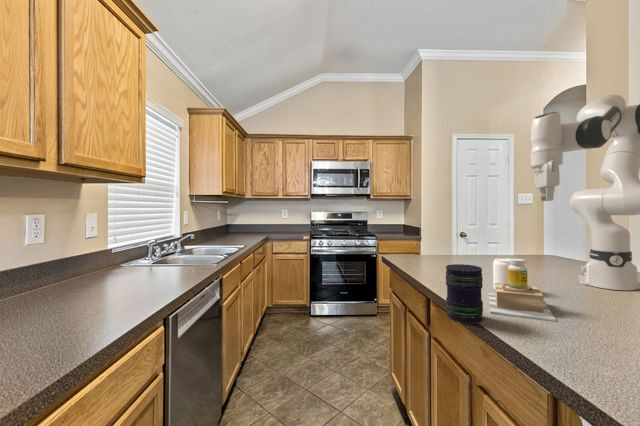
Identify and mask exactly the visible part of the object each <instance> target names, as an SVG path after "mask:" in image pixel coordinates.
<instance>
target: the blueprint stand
mask: <svg viewBox="0 0 640 426" xmlns="http://www.w3.org/2000/svg"><path fill="white" fill-rule="evenodd" d="M527 286H528V288H527V290H526V291H518V290H512V289H509V288H508V284H500V283H495V289H494V290H495V291H494V293H493V292H488V294H487V295H488V302H489V303H488V304H489V310H490V311H489V312H490V314H492V315H493V314H494V315H500V316H509V317H515V318H516V317H517V318H525V319H531V320H533V319H534V320H542V321H549V322H556V318H555V316H554V315H553V313H552V311H551V310H550V309H549V307H548V306H547V304H546V303H545V301H544V295H543V293H542V291H540V289H539V288H538V287H537V286H535V285H527Z"/></svg>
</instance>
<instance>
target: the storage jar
mask: <svg viewBox="0 0 640 426" xmlns="http://www.w3.org/2000/svg"><path fill="white" fill-rule="evenodd" d="M445 270H446V271H445V286H446V295H447V296H446V298H445V302H446V303H445V307H446V318H448V319H449V320H451V321H453V322H456V323H461V324H468V325H474V324H480V323H482V322H483V319H484V318H483V313H484V307H483V306H484V303H483V300H482V288H483V287H484V286H483V282H484V281H483V280H484V279H483V273H482V272H483V268H482V267H481V266H477V265H472V264H461V263H460V264H458V263H457V264H456V263H455V264H448V265H446V266H445Z"/></svg>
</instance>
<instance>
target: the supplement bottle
mask: <svg viewBox="0 0 640 426" xmlns="http://www.w3.org/2000/svg"><path fill="white" fill-rule="evenodd" d="M509 259H510V264H511V265H509V266H508V288H509V289H512V290H518V291H526V290H527V288H528V286H529V285H528V267H527V266H525V265H526V261H525V259H522V258H509Z"/></svg>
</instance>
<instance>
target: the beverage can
mask: <svg viewBox="0 0 640 426" xmlns="http://www.w3.org/2000/svg"><path fill="white" fill-rule="evenodd" d="M510 259H511V258H503V257H502V258H501V257H499V258H494V260H493V261H492V271H493V273H492V274H493V276H492V280H493V282H492V283H493V284H492V285H493V288H492V289H494V290H495V283H500V284H508V266H509V265H511V264H510Z"/></svg>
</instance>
